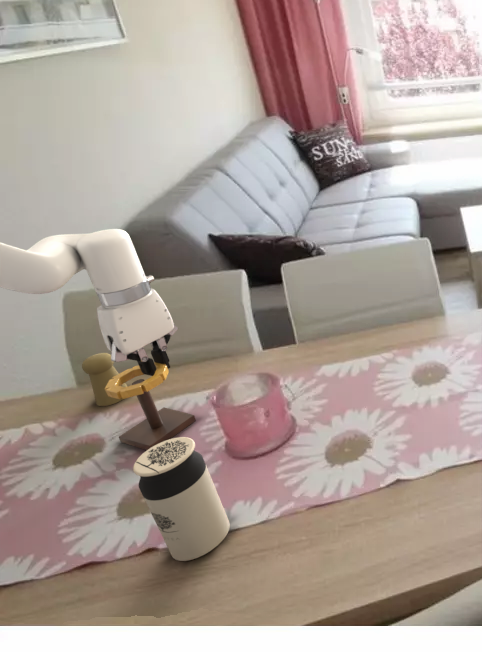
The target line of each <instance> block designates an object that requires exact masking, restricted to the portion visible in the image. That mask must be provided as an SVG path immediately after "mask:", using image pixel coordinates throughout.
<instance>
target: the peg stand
mask: <svg viewBox="0 0 482 652" xmlns="http://www.w3.org/2000/svg"><path fill="white" fill-rule="evenodd" d="M145 380H146V379H144V378H143V379H142V378H140V379H136V380H135V381H133V382H132V383H131V385H135V384H139V383H141V382H143V381H145ZM136 398H137V400H138V402H139V405H140V407H141V409H142V411H143V414H144V416H145V419H144V420H142V421H140V422H139V423H137V424H136V425H134V426H132V427H131V428H130V429H128V430H127V431H125V432H123V433H122V434H120V435H119V436H118V440H119V441H120V443H122V444H124V445H128V446H133V447H135V448H138V449H143V450H146V451H147V450H148V449H150V448H151V447H153V446H155V445H157V444H159V443H161V442H163V441H166V440H169V439H173V438H174V437H175V436H176V435H178V434H179V433H181V432H182V431H183V430H185V429H187V427H189V426H190V425H192V424H193V423H195V422H196V421H197V419H196V417H195V415H194V414H192V413H187V412H185V411H181V410H176V409H172V408H168V407H162V408H161V409H159V410H158V408H157V406H156V403H155V401H154V399H153V396H152V394H151V392H150V391H148V392H145V391H144V393H143V394H140V395H137V396H136Z"/></svg>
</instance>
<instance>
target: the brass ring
mask: <svg viewBox="0 0 482 652" xmlns="http://www.w3.org/2000/svg"><path fill="white" fill-rule="evenodd" d="M154 364H155V366H156V371H155V374H154V375H153V376H150V377H148V378H146V379H144V380H145V381H143V382H141V383H139V384H135V385H132V384H131V385H127V387H121V386H122V384H124V383H127V382H129V381H130V380H132V379H134V378H136V377H140V376H144V375H145V374H143V373H142V371H141V369H140V367H139V364H137V365H134V366H132V368H130V367H129V368H127V369H125V370H123V371H122V372H120V373H119V374H118V375H116V376H114V377H112V379H110V380H109V382H108V383H107V385H106V387H105V391H106V393H107V395H108V396H109V397H112V398H116V399H121V398H123V400H124V399H129V398H132V397H137V395H140V394H143V393H144V391H145V392H148V391H149V392H150V391H151V390H153V389H154V388H156V387H158V386H160V385H161V384H163V383H164V381H166V380H167V378H168V375H169V372H170V370H169V369H168V368H167V366H166V364H161V363H156V362H154Z"/></svg>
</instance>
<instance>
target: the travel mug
mask: <svg viewBox="0 0 482 652" xmlns="http://www.w3.org/2000/svg"><path fill="white" fill-rule="evenodd" d="M195 448H196V443H195V440H194V439H192V438H190V437H187V436H180V437H172V438H171V439H169V440H166V441H163V442H161V443H159V444H157V445H155V446H153V447H151V448H150V449H148V450H146V451H144V452H143V453H142V454H140V455H139V457H137V459H136V460H135V462H134V464H133V467H132V471H133V473H134V475H136V476H139V477H140V478H139V481H138V489H139V491H140V493H141V495H142V498H143V499H144V501H145V503H146V505H147V508H148V510H149V512H150V514H151V516H152V518H153V521H154V522H155V524H156V526H157V528H158V531H159V532H160V535H161V537H162V538H163V541H164V543H165V545H166V547H167V550H168V551H169V553H170V555H171V557H172V558H173V559H174V560H176V561H180V562H187V561H191V560H194V559H198V558H200V557H202V556H204V555H206V554H208V553H209V552H211V551H212V550H214V549H215V548H216V547H217V546H219V545H220V544H221V543H222V542H223V540H225V538H226V537H227V535H228V533H229V531H230V529H231V528H230V527H231V523H230V520H229V518H228V515H227V512H226V510H225V508H224V506H223V503H222V501H221V498H220V496H219V494H218V491H217V488H216V486H215V484H214V481H213V479H212V476H211V474H210V472H209V471H210V470H209V469H208V467H207V466H208V465H207V463H206V462H205V459H204V456H203V455H202V453H200V452H198V451H197V450H195Z"/></svg>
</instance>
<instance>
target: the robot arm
mask: <svg viewBox="0 0 482 652" xmlns="http://www.w3.org/2000/svg"><path fill="white" fill-rule="evenodd" d="M83 270H86V273H87V275H88V278H89V280H90V282H91V284H92V286H93V288H94V292H95V293H96V295H97V298H98V300H99V302H100V304H101V305H99V306H97V308H96V312H97V320H98V324H99V329H100V332H101V335H102V338H103V342H104V345H105V346H106V348H107V350H108V351H110V352H111V353H110V355H111V361H113V362H114V363H122V362H125V361H134V362H135V361H136V363H137V365H139V367H140V369H141V371H142V373H143V374H144V375H145V376H150V377H152V376H153V375H154V374H155V371H156V366H155V364H154V362H156V363H161V364H166V366H167V368H168V370H169V369H170V368H171V364H170V363H169V362H170V359H169V356H168V353H167V350H168V343H169V341H170V340H171V337H172V336H174V335H175V334H176V332H177V331H178V330H179V327H178V326H177V325H176V324H175V323H174V320H173V318H172V315H171V313H170V311H169V309H168V308H167V307H168V306H167V305H166V304H165V301H163V298H162V297H161V296H160V295H159V293H158V291H156V290H155V288H152V286H151V283H152V282H154V281H155V277H154V276H153V275H152V274H149V275H146V274H145V271H144V269H143V266H142V264H141V261H140V258H139V256H138V254H137V251H136V248H135V245H134V243H133V240H132V239H131V237H130V234H129V233H128V232H127V231H125V230H123V229H120V228H108V229H102V230H97V231H94V232H90V233H68V234H67V233H66V234H64V233H63V234H53V235H49V236H46V237H44V238H41V239H40V240H38V241H37V242H35V243H34V244H33V245H32V246H31V247H29V248H28V249H23V248H19V247H16V246H14V245H10V244H7V243H4V242H2V241H0V289H3V290H4V289H5V290H7V291H8V290H9V291H12V292H15V293H22V294H31V295H43V294H44V295H45V294H49V293H53V292H56V291H58V290H59V289H61V288H62V287H64V286H65V285H66V284H67V283H68V282H69V281H70V280H71V279H72V278H73V277H74V276H76V274H78V273H80V272H81V271H83ZM149 344H150V346H151V350H150V355H151V357H152V358H151V357H149V355H148V354H147V351H146V349H145V346H148V345H149Z"/></svg>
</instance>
